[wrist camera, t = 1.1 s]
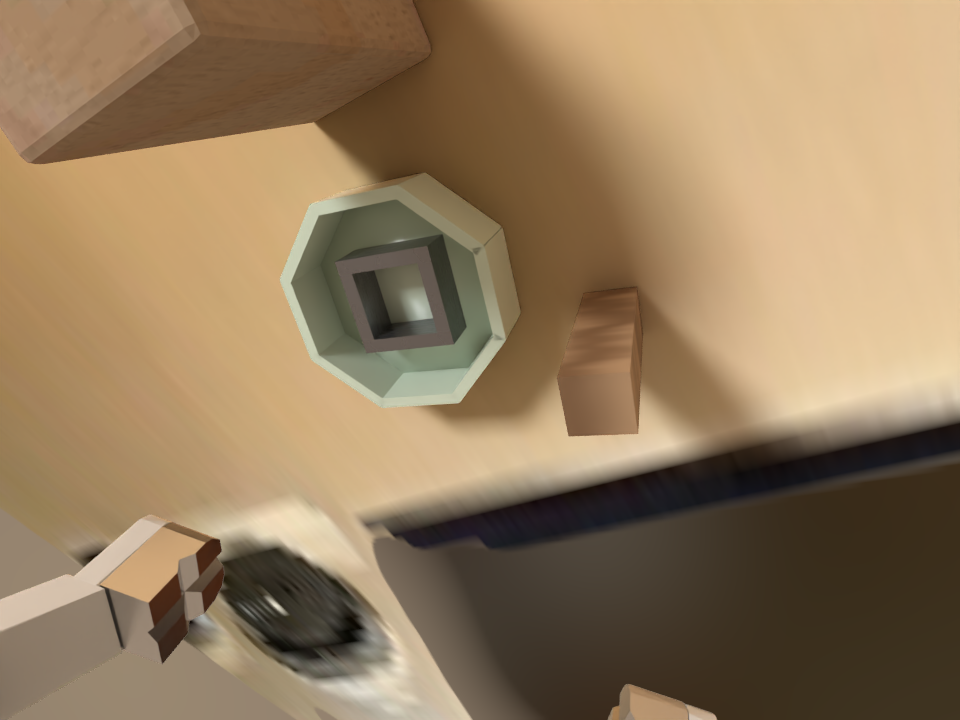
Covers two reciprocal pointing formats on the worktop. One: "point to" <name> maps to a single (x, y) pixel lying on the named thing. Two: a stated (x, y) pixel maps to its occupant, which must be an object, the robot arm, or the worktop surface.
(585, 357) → the wooden rectangular beam
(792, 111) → the worktop surface
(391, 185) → the octagonal green tray
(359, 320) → the square frame
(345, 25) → the wooden block
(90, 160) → the worktop surface
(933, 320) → the worktop surface
